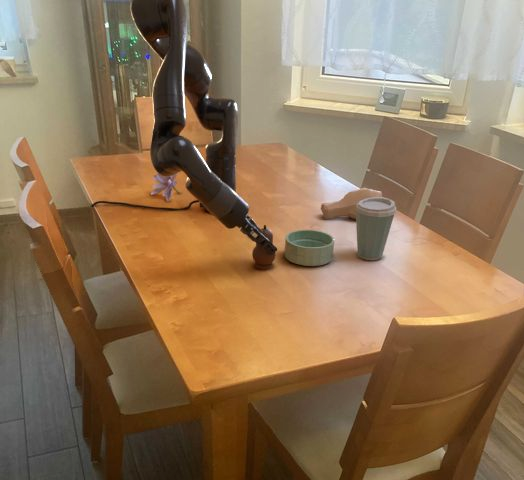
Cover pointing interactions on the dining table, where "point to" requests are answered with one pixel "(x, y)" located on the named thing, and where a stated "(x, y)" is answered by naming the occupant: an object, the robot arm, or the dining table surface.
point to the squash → (348, 203)
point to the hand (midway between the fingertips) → (270, 247)
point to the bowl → (309, 247)
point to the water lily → (164, 185)
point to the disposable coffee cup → (373, 226)
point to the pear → (263, 252)
